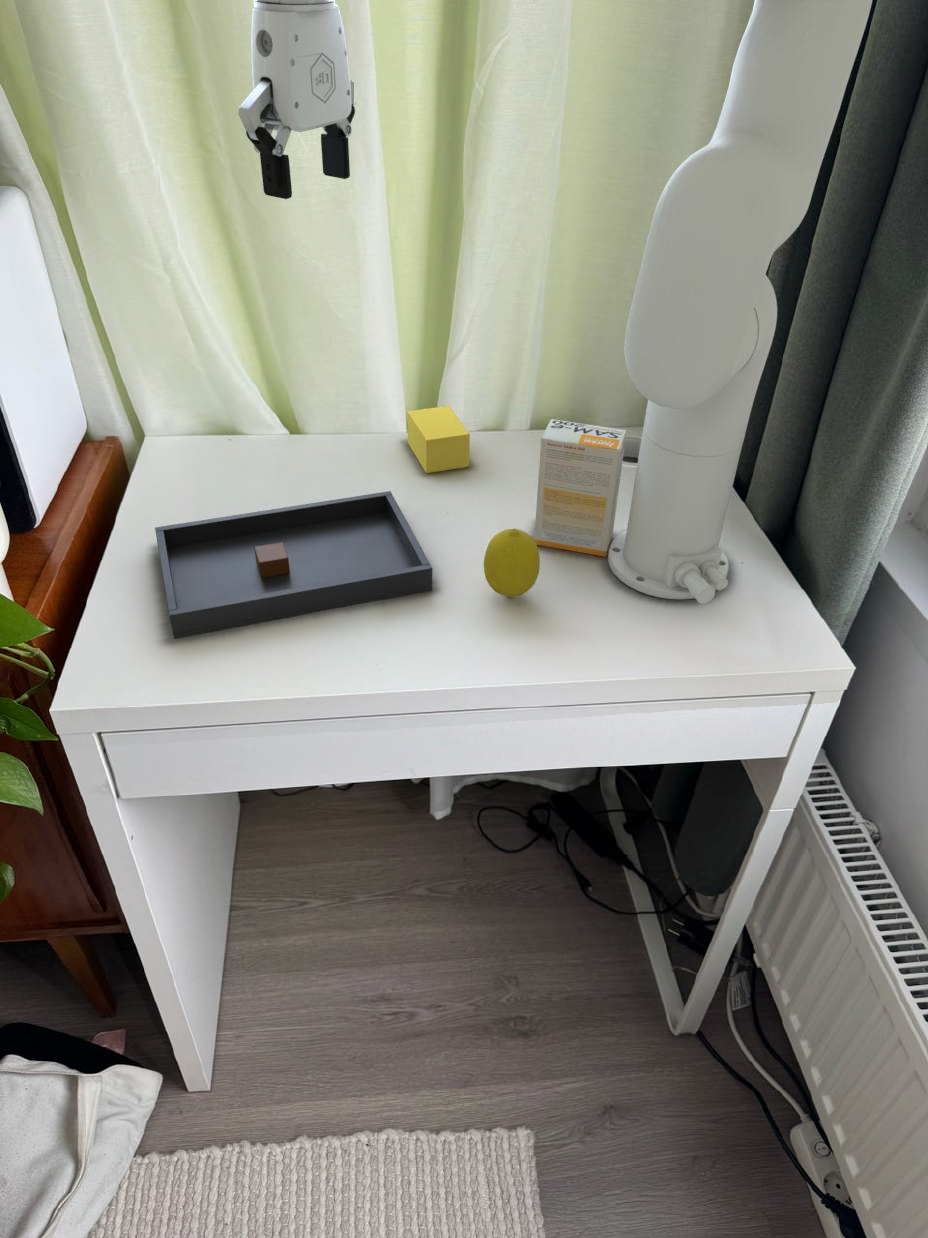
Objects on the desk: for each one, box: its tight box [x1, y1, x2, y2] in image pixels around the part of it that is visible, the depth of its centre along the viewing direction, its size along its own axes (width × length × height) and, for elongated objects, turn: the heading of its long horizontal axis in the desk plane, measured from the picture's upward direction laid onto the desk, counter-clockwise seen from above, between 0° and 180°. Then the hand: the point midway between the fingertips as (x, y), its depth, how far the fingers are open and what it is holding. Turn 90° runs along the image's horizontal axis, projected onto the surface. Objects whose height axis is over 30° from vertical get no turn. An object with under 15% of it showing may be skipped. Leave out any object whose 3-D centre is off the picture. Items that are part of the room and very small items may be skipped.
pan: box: [154, 490, 433, 639], centre depth 96 cm, size 16×26×3 cm, turn 109°
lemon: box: [483, 528, 541, 598], centre depth 92 cm, size 6×6×8 cm
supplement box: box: [533, 418, 627, 558], centre depth 98 cm, size 8×5×13 cm, turn 73°
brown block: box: [254, 542, 290, 578], centre depth 95 cm, size 3×3×2 cm
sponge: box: [406, 405, 471, 474], centre depth 115 cm, size 8×6×4 cm
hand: (308, 186), depth 97 cm, fingers open, 9 cm apart
